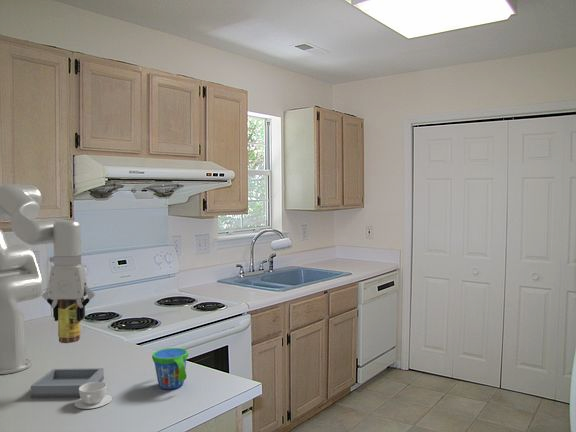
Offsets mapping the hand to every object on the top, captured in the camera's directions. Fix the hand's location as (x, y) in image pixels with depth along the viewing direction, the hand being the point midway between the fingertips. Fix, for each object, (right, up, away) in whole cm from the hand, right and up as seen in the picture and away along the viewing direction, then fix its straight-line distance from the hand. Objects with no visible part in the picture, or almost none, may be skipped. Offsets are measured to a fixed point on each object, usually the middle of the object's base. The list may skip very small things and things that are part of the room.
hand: (69, 319), depth 151 cm
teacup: (+11, -22, -10) cm, 26 cm away
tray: (-1, -21, +1) cm, 21 cm away
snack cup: (+30, -21, +2) cm, 37 cm away
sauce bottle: (0, -7, 0) cm, 7 cm away
